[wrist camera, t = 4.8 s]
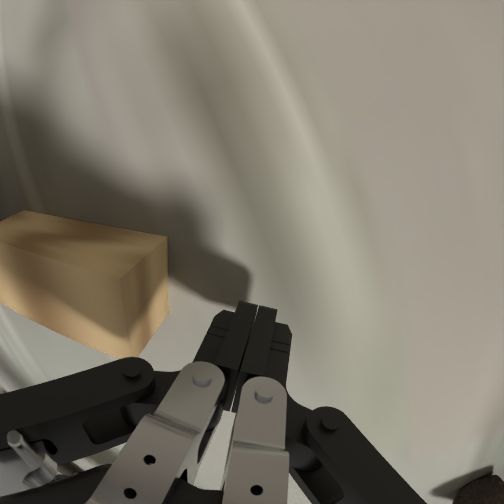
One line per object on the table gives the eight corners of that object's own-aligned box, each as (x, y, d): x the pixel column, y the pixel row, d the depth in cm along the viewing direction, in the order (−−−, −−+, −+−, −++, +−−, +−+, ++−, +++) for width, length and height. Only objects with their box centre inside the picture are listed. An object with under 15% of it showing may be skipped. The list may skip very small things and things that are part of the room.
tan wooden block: (169, 235, 13) (120, 278, 9) (170, 309, 14) (133, 363, 11) (26, 208, 14) (-24, 233, 10) (36, 268, 16) (-6, 299, 12)
